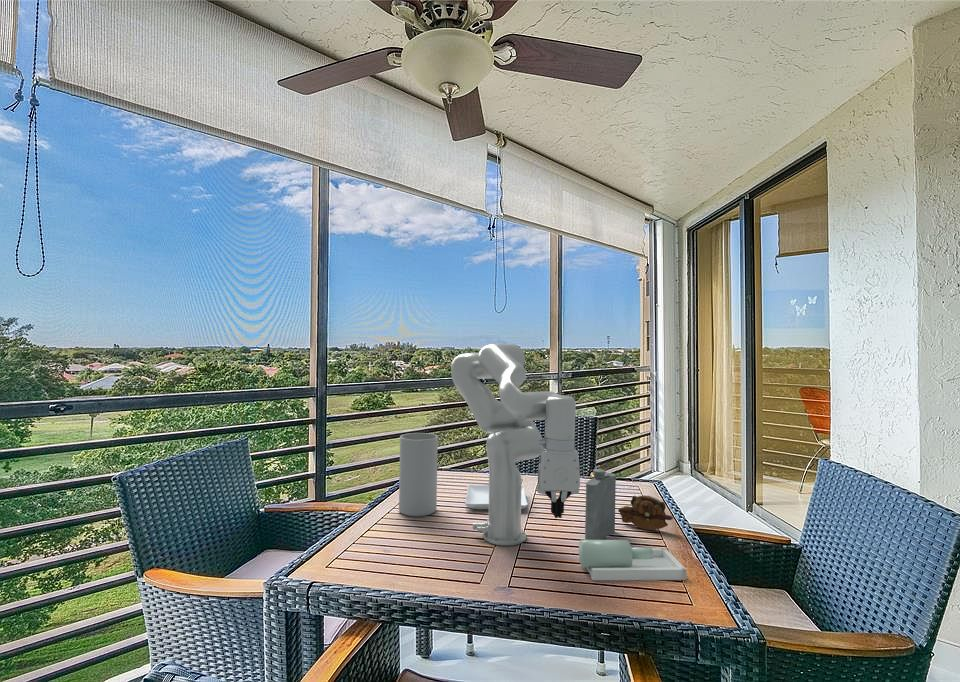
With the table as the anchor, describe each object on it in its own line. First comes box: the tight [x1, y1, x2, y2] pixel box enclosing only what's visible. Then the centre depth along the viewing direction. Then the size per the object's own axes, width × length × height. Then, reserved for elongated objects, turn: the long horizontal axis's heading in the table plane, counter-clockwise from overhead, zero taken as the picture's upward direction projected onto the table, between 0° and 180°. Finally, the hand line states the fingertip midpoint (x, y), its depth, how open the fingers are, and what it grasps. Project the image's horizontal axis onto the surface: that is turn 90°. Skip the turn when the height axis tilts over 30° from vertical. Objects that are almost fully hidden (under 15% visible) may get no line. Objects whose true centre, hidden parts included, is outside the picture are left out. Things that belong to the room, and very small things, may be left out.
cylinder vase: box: [398, 432, 439, 518], centre depth 171 cm, size 12×12×25 cm
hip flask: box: [584, 468, 617, 540], centre depth 150 cm, size 16×4×20 cm, turn 142°
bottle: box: [578, 539, 653, 568], centre depth 130 cm, size 6×6×18 cm
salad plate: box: [464, 484, 529, 511], centre depth 181 cm, size 21×21×3 cm
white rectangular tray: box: [585, 547, 688, 581], centre depth 130 cm, size 23×13×2 cm, turn 93°
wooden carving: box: [618, 495, 674, 531], centre depth 158 cm, size 16×5×10 cm, turn 64°
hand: (557, 515), depth 130 cm, fingers closed
